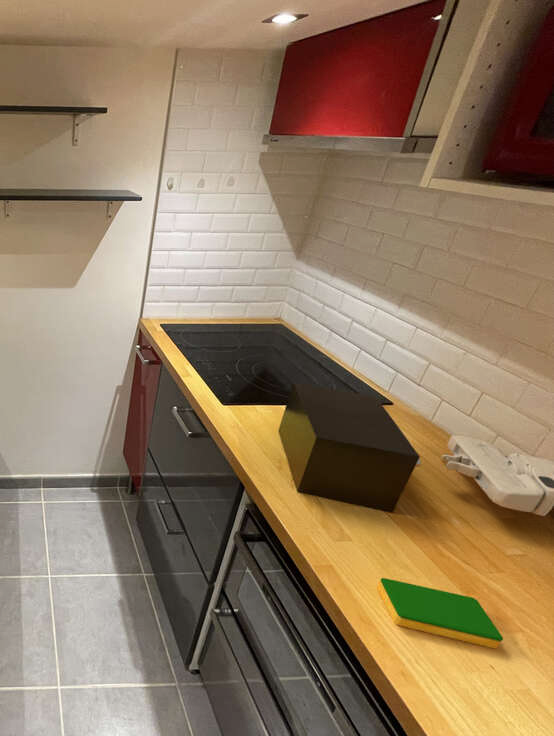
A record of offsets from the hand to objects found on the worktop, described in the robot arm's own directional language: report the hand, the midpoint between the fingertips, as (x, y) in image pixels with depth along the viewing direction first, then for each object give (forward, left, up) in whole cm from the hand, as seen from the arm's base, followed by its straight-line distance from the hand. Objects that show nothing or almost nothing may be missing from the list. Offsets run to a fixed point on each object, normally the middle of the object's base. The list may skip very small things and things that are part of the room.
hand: (444, 461), depth 98 cm
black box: (+21, 0, -7) cm, 22 cm away
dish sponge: (+14, +36, -8) cm, 40 cm away
